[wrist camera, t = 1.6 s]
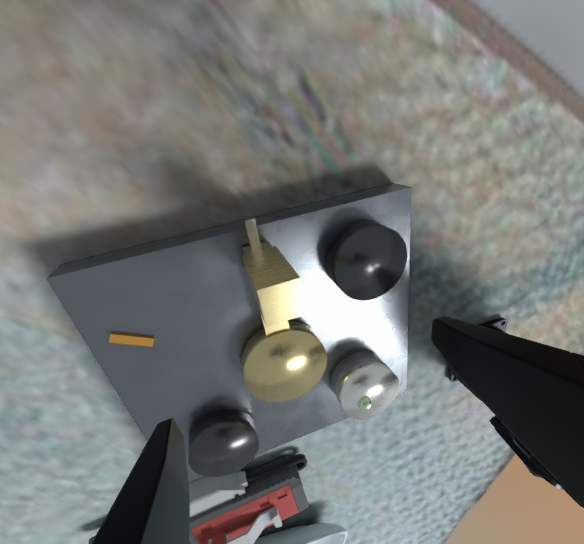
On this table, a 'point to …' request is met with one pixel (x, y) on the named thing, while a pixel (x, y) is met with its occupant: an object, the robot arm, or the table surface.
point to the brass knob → (279, 330)
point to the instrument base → (250, 323)
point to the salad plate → (307, 535)
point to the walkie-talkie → (245, 502)
